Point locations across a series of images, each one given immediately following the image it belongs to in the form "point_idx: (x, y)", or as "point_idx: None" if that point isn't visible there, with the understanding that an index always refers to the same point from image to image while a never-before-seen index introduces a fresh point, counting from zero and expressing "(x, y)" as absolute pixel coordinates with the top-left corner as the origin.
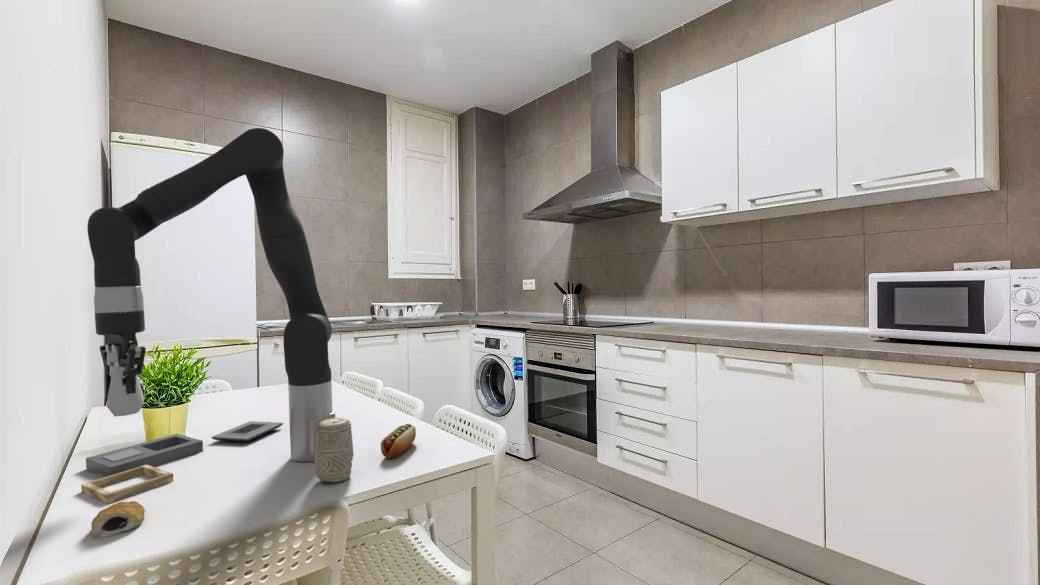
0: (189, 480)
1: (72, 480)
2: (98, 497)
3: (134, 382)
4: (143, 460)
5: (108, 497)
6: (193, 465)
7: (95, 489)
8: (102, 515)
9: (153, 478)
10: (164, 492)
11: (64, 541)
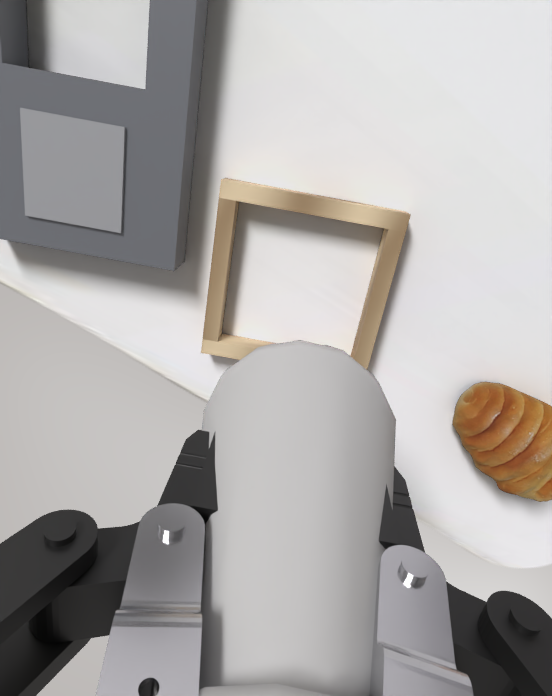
0: (460, 192)
1: (77, 299)
2: None
3: (416, 533)
4: (184, 167)
5: None
6: (344, 73)
7: None
8: (528, 491)
9: (380, 264)
10: (458, 283)
11: (458, 498)
